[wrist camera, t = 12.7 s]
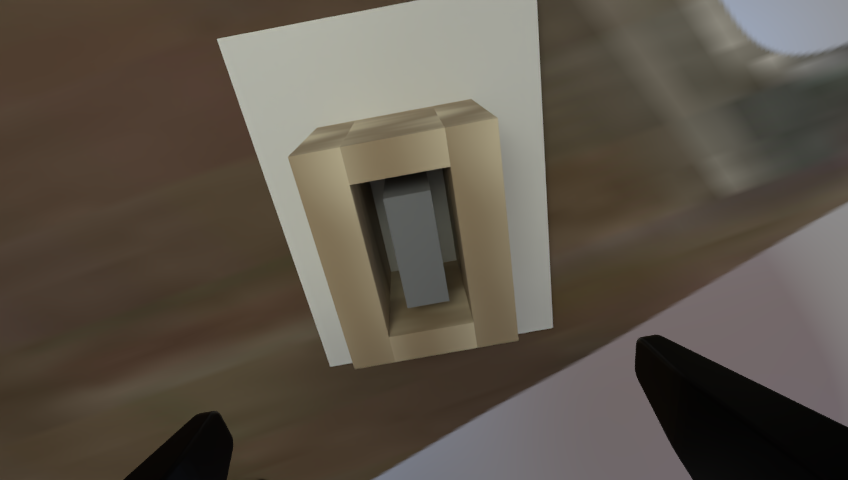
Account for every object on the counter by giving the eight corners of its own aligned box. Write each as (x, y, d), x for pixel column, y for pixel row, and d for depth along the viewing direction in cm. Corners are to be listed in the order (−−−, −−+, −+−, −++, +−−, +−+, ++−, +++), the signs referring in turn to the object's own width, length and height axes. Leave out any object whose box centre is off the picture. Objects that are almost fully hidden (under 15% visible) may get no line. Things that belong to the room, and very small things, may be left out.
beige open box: (471, 98, 17) (497, 117, 12) (492, 275, 21) (518, 340, 16) (316, 127, 17) (287, 156, 13) (364, 298, 21) (354, 369, 16)
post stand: (546, 316, 23) (587, 391, 18) (332, 354, 23) (315, 438, 18) (527, -19, 16) (585, -48, 11) (227, 39, 16) (152, 35, 12)
